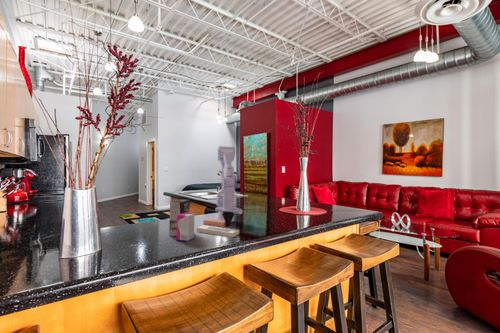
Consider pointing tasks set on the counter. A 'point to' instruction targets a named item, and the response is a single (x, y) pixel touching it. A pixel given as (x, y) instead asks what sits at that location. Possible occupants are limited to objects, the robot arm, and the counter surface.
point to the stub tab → (215, 222)
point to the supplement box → (185, 227)
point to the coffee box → (177, 213)
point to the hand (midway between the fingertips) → (228, 226)
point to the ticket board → (218, 230)
